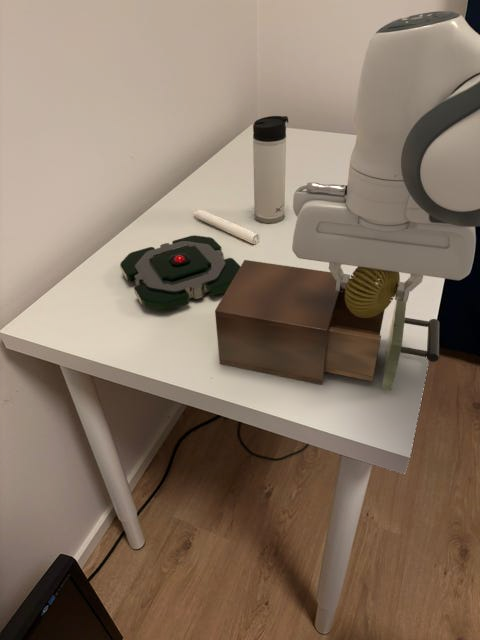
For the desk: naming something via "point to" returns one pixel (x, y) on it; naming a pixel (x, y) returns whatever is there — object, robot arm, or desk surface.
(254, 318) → the cabinet
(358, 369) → the drawer
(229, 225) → the white rod
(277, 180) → the travel mug
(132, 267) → the flat green button pad
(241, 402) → the desk surface
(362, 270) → the sculpture
